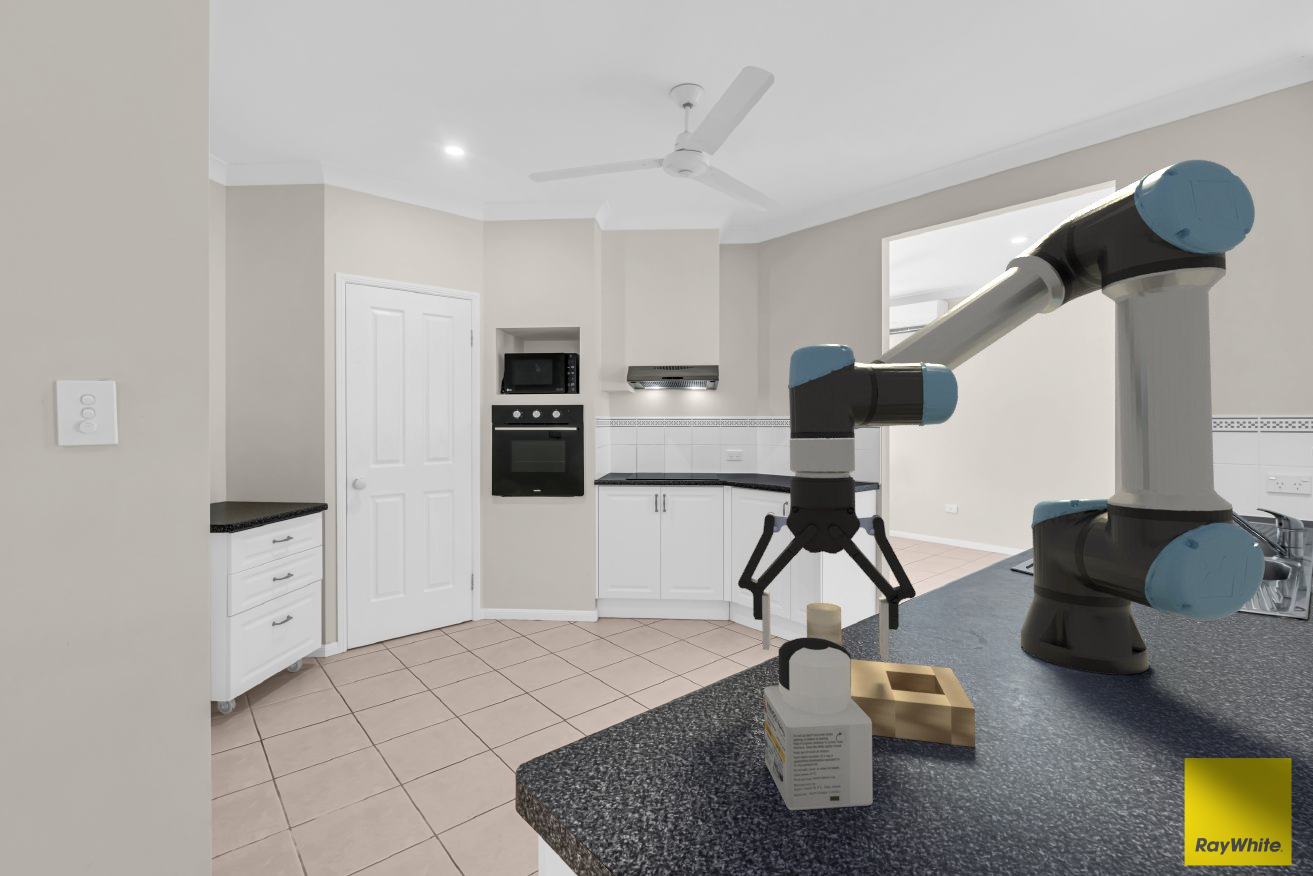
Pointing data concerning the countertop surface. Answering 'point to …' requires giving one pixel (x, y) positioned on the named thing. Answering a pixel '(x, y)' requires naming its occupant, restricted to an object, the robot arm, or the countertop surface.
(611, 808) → the countertop surface
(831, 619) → the peg
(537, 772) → the countertop surface
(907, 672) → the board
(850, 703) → the container
